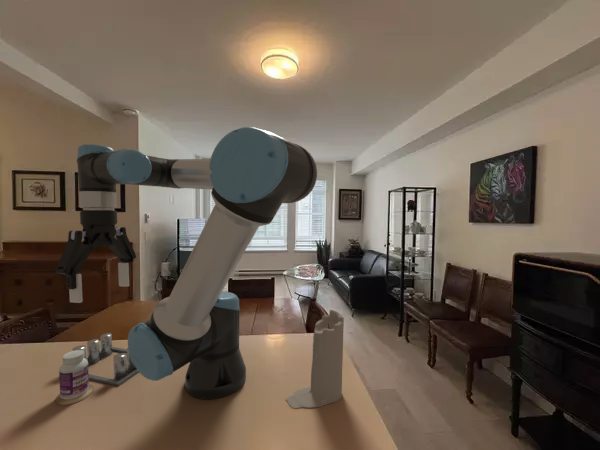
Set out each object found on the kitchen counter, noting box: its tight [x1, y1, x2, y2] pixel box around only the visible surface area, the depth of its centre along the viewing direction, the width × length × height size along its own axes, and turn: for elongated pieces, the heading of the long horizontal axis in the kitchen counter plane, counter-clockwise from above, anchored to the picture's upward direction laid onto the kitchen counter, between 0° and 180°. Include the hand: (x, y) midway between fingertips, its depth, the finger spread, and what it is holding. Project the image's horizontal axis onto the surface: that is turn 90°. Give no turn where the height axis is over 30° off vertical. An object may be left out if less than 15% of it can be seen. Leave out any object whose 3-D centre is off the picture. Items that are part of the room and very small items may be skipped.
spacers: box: [72, 332, 137, 381], centre depth 79 cm, size 17×11×6 cm, turn 75°
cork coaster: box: [55, 383, 94, 406], centre depth 67 cm, size 7×7×1 cm
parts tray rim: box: [86, 346, 140, 387], centre depth 80 cm, size 19×14×1 cm
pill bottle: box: [58, 350, 90, 400], centre depth 67 cm, size 5×5×10 cm
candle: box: [285, 309, 345, 409], centre depth 67 cm, size 7×14×20 cm, turn 113°
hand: (102, 293), depth 71 cm, fingers open, 13 cm apart
